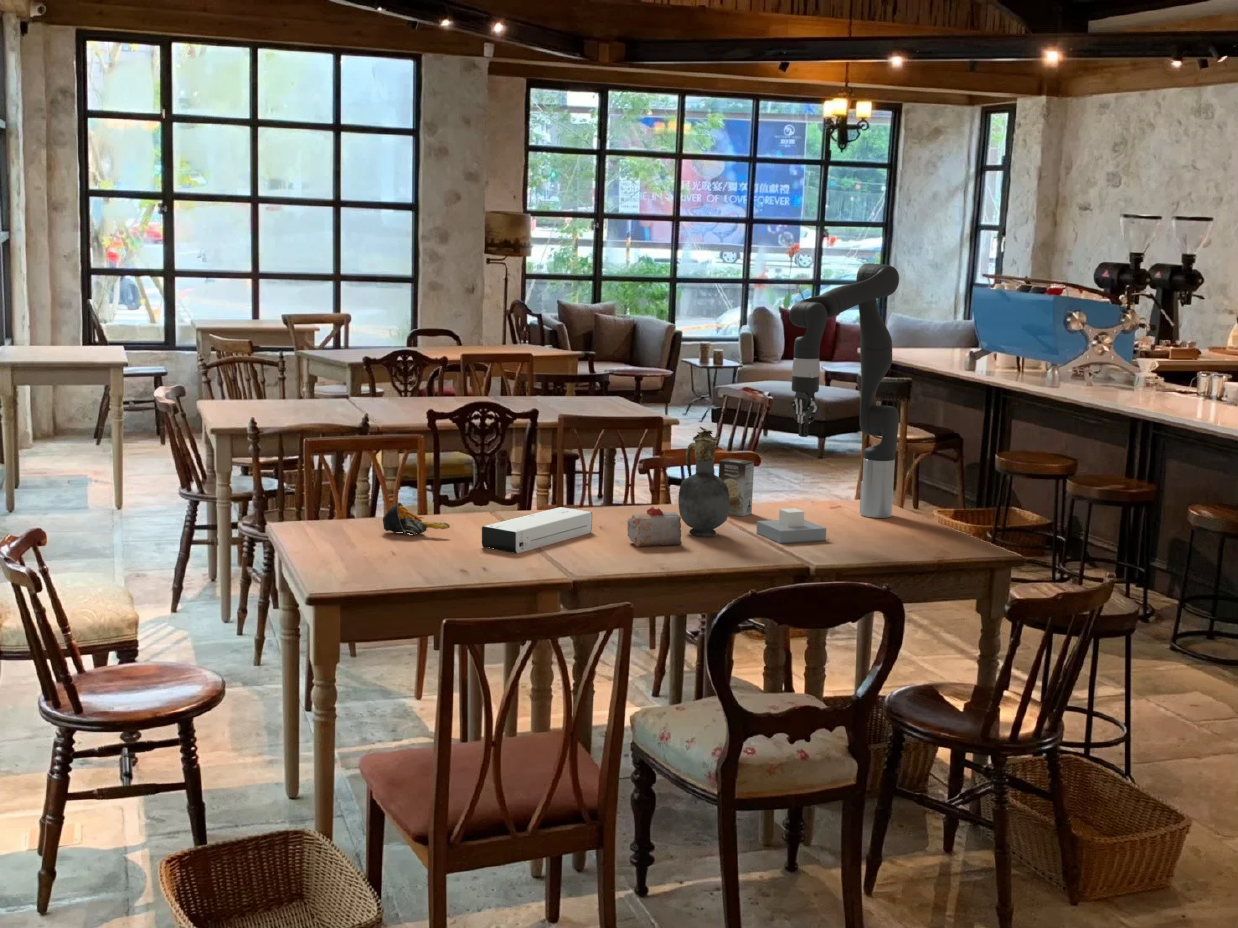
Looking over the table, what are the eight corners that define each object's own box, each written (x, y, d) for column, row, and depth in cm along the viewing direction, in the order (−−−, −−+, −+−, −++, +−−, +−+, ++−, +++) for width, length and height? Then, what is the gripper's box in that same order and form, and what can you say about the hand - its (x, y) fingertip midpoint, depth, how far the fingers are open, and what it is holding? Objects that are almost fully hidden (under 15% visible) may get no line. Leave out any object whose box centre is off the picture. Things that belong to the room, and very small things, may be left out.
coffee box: (715, 513, 399) (717, 460, 396) (725, 509, 404) (727, 457, 401) (743, 516, 394) (745, 463, 391) (753, 513, 399) (754, 460, 396)
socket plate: (756, 533, 371) (757, 519, 370) (800, 530, 376) (801, 516, 375) (780, 543, 358) (780, 529, 357) (825, 540, 363) (826, 526, 362)
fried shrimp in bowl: (386, 511, 368) (447, 493, 366) (394, 549, 365) (456, 531, 363) (374, 505, 359) (437, 486, 357) (383, 544, 356) (446, 525, 354)
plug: (778, 533, 368) (779, 509, 367) (794, 532, 370) (795, 508, 369) (787, 537, 363) (788, 512, 362) (803, 536, 365) (804, 511, 364)
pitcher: (697, 541, 359) (700, 431, 354) (668, 527, 376) (670, 422, 372) (733, 538, 363) (736, 430, 358) (702, 525, 380) (706, 421, 376)
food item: (634, 548, 349) (635, 511, 348) (625, 542, 357) (626, 506, 355) (683, 546, 353) (684, 509, 352) (673, 540, 361) (674, 504, 359)
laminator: (559, 528, 374) (559, 506, 373) (595, 534, 367) (595, 512, 366) (481, 549, 346) (481, 526, 345) (518, 556, 340) (518, 532, 339)
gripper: (782, 372, 372) (780, 433, 375) (805, 377, 360) (803, 440, 363) (805, 372, 375) (803, 433, 378) (829, 376, 363) (827, 439, 365)
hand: (803, 436), depth 370 cm, fingers closed
